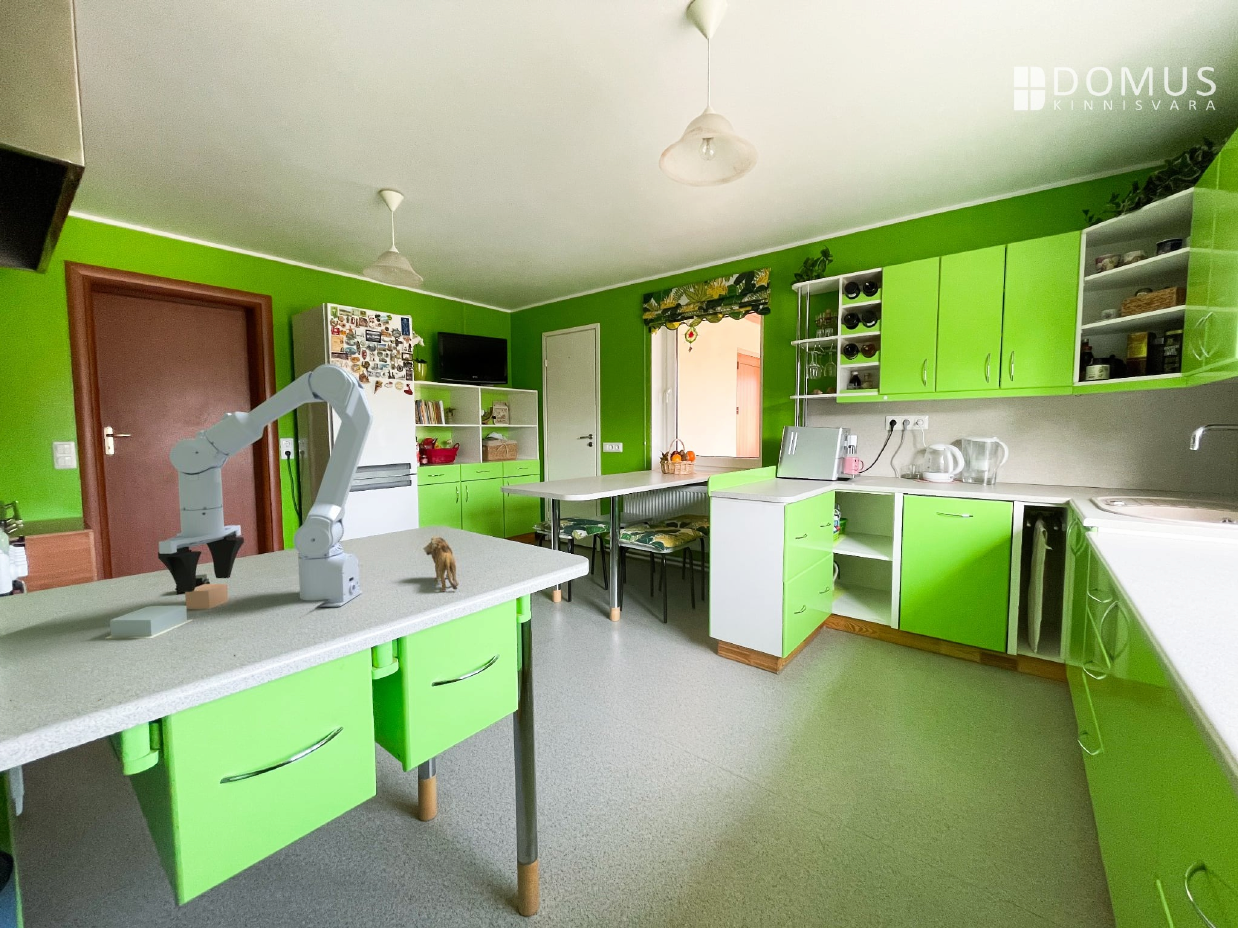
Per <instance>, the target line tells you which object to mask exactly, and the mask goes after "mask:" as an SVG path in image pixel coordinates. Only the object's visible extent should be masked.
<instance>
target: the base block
mask: <svg viewBox="0 0 1238 928" xmlns="http://www.w3.org/2000/svg"><path fill="white" fill-rule="evenodd" d="M187 610H188V609H186V605H148V606H145V607H143V608H140V609H136V610H134V611H132V612H129V613H126V614H123V615H121V616H118V617H114V618H112V619H110V620H109V626H110V627H109V629H110V630H109V631H110V636H111V637H136V636H154V635H156V634H158V633H160V632H163V631H165V630H167V629H170V628H172V627H174V626H176V625H179V624H181V623H183V622H186V621H187V620H188V613H187Z"/></svg>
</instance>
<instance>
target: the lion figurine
mask: <svg viewBox="0 0 1238 928" xmlns="http://www.w3.org/2000/svg"><path fill="white" fill-rule="evenodd" d="M422 549H423V551H424V553H425V554H426V556H431V559H432V561H433V562H434V569H435V575H436V577H435V578H433V581H435V582H439V581H440V583H441V587H440V592H443V591H444V592H445V591H447V584H446V583H447V582H446V580H445V578H446V579H447V580H448V583H449V585H450V586H451V588H452V589H453V590H454V591H455V590H456V591H457V590H458V587H457V586H459V582H458V580H457V576H456V575H457V574H456V573H457V565H456V560H455V557H454V555H453V551H452V547H450V545H449V543H448V542H447V541H446V540H445V539H444V538H442V537H440V536H435V537H431V540H430V542H429V543H428V544H427V545H426V546H425V547H423V548H422ZM445 573H446V574H445ZM451 577H452V578H451ZM438 580H439V581H438Z"/></svg>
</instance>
